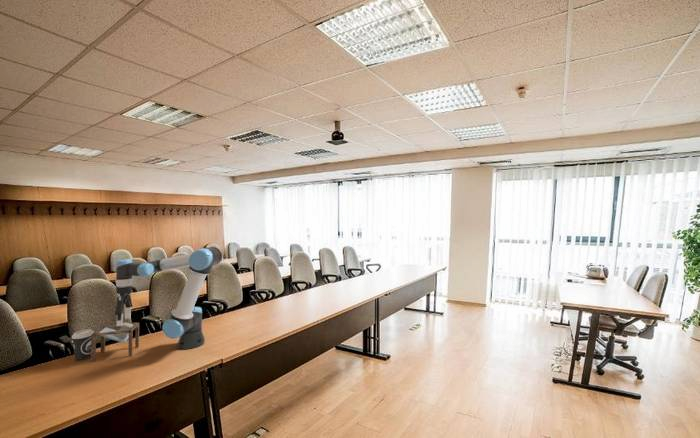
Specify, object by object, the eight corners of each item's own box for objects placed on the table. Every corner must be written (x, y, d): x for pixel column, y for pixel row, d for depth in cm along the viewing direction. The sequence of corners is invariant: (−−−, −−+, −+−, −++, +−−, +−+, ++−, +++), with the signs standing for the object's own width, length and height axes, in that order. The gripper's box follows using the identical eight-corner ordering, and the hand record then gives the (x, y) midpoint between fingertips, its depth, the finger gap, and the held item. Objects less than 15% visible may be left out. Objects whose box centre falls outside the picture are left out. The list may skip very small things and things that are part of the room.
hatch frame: (138, 346, 181) (139, 322, 181) (131, 356, 168) (131, 330, 168) (101, 351, 174) (102, 326, 175) (91, 362, 161) (91, 334, 162)
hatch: (130, 336, 178) (131, 335, 178) (123, 343, 168) (124, 341, 168) (104, 328, 174) (105, 326, 174) (96, 334, 164) (97, 333, 164)
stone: (127, 336, 175) (133, 324, 177) (124, 339, 171) (131, 327, 172) (118, 333, 174) (124, 322, 175) (115, 336, 169) (122, 324, 170)
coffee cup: (91, 353, 172) (91, 327, 172) (96, 357, 167) (96, 331, 167) (69, 359, 165) (69, 332, 165) (73, 364, 159) (73, 336, 159)
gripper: (123, 282, 183) (123, 316, 183) (107, 291, 160) (107, 330, 160) (138, 281, 186) (137, 315, 186) (124, 289, 163) (124, 328, 163)
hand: (123, 322), depth 173 cm, fingers open, 13 cm apart
